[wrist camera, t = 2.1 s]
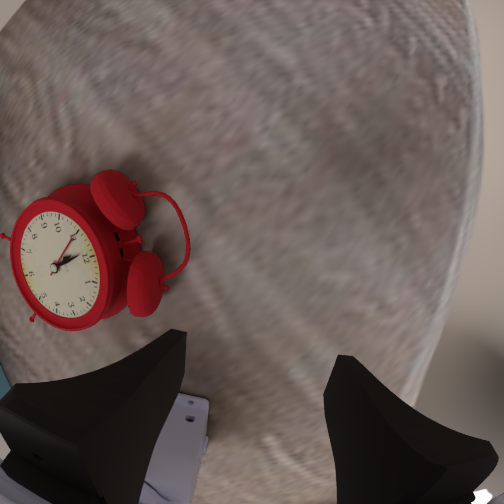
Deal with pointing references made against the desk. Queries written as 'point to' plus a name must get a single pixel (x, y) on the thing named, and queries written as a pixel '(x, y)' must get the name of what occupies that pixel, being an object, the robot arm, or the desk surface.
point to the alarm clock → (88, 253)
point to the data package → (3, 383)
